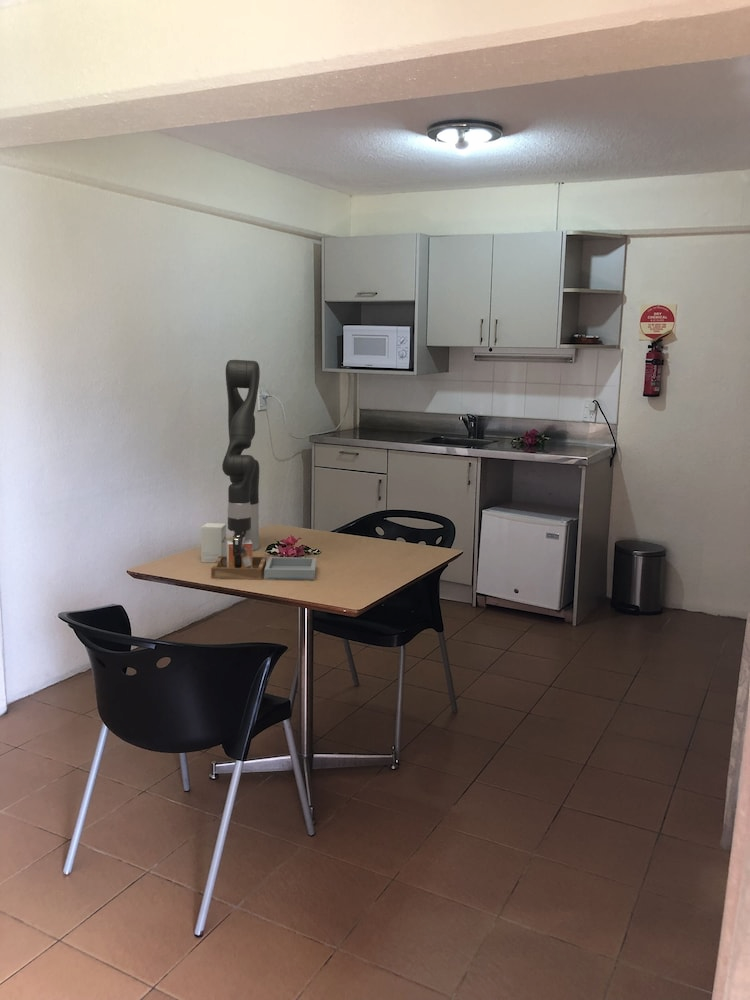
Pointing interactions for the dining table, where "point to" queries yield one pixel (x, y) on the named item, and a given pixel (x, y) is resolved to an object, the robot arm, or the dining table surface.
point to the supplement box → (213, 541)
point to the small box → (245, 555)
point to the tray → (290, 568)
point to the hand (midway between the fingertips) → (239, 564)
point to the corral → (238, 569)
